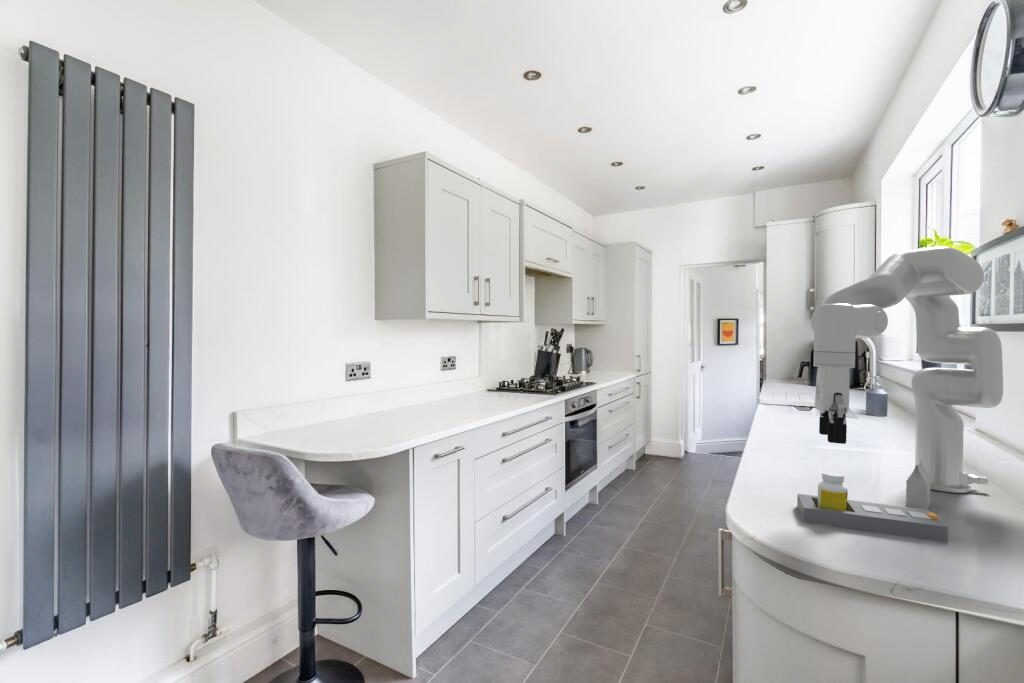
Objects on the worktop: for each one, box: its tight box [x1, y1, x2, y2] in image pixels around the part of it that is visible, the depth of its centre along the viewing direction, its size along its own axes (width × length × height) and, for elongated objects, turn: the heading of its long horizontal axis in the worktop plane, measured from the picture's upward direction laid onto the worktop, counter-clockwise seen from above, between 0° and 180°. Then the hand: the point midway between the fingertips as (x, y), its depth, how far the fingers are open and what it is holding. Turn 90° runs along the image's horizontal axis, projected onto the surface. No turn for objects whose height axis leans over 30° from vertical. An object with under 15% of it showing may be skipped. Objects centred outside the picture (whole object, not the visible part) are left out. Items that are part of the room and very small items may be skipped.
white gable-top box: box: [905, 460, 932, 510], centre depth 112 cm, size 4×7×10 cm, turn 133°
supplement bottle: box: [817, 470, 849, 511], centre depth 103 cm, size 5×5×10 cm
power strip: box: [796, 493, 949, 543], centre depth 101 cm, size 24×10×4 cm, turn 65°
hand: (832, 438), depth 103 cm, fingers open, 9 cm apart
